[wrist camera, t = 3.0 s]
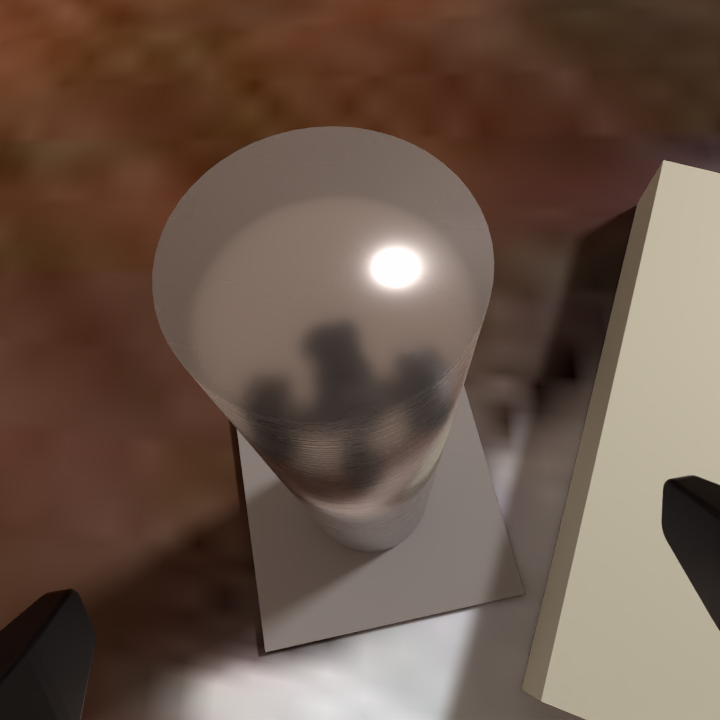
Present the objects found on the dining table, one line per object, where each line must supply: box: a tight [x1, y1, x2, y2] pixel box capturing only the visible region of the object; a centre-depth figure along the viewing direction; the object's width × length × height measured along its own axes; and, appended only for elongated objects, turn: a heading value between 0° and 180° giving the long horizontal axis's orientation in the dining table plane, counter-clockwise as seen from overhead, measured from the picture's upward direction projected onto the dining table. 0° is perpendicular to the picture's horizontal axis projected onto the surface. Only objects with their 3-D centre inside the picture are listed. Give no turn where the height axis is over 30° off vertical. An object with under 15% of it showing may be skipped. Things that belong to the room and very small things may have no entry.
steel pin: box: [152, 126, 494, 553], centre depth 13 cm, size 4×4×14 cm
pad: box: [237, 385, 525, 652], centre depth 20 cm, size 8×8×1 cm
